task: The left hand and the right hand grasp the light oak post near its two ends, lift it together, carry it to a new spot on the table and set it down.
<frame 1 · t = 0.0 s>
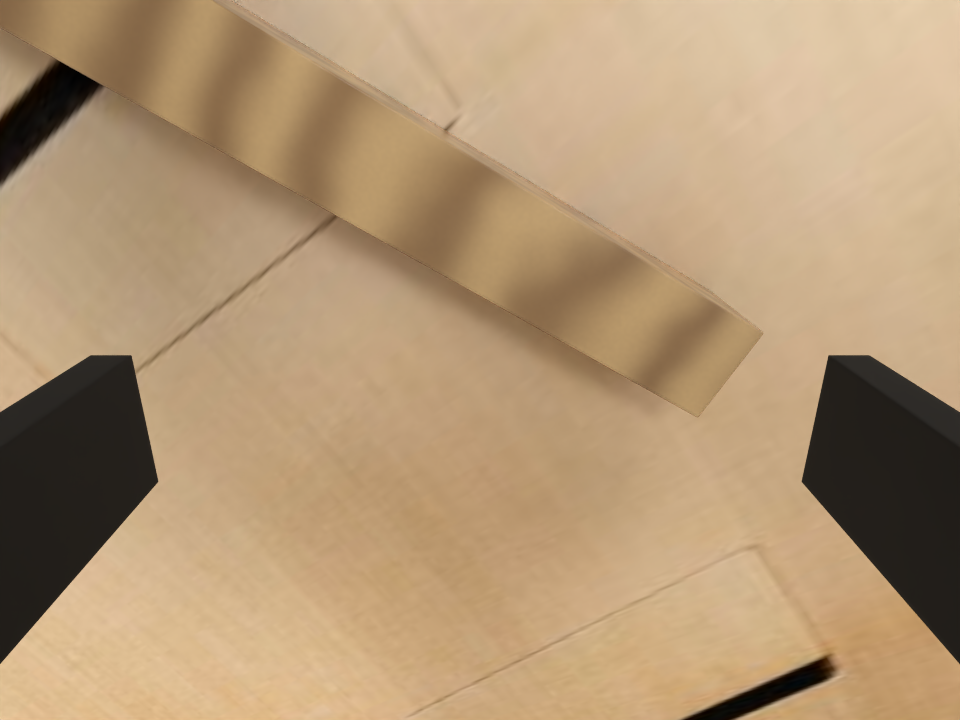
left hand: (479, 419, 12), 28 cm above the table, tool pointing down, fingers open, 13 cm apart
post: (183, 33, 35), on the table
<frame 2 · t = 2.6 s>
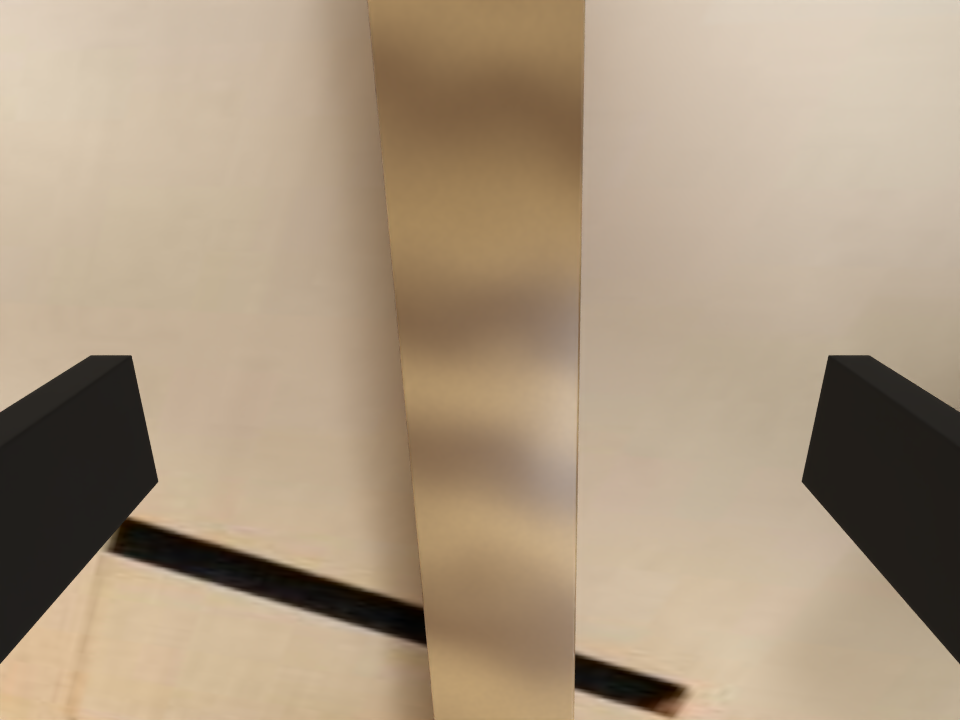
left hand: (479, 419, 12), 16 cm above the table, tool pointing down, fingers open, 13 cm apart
post: (503, 682, 36), on the table
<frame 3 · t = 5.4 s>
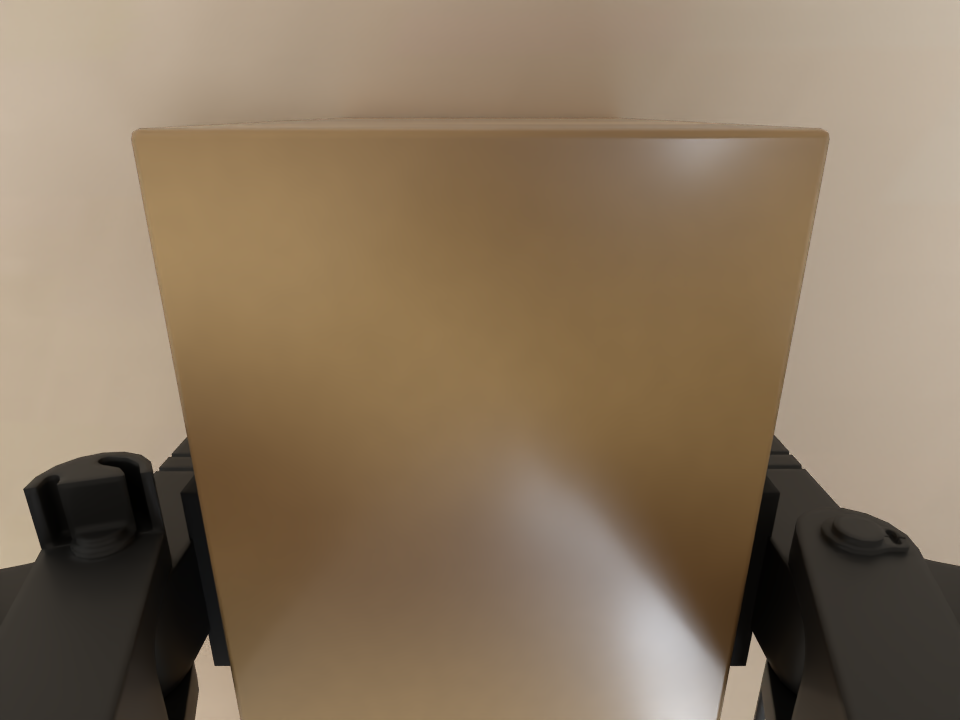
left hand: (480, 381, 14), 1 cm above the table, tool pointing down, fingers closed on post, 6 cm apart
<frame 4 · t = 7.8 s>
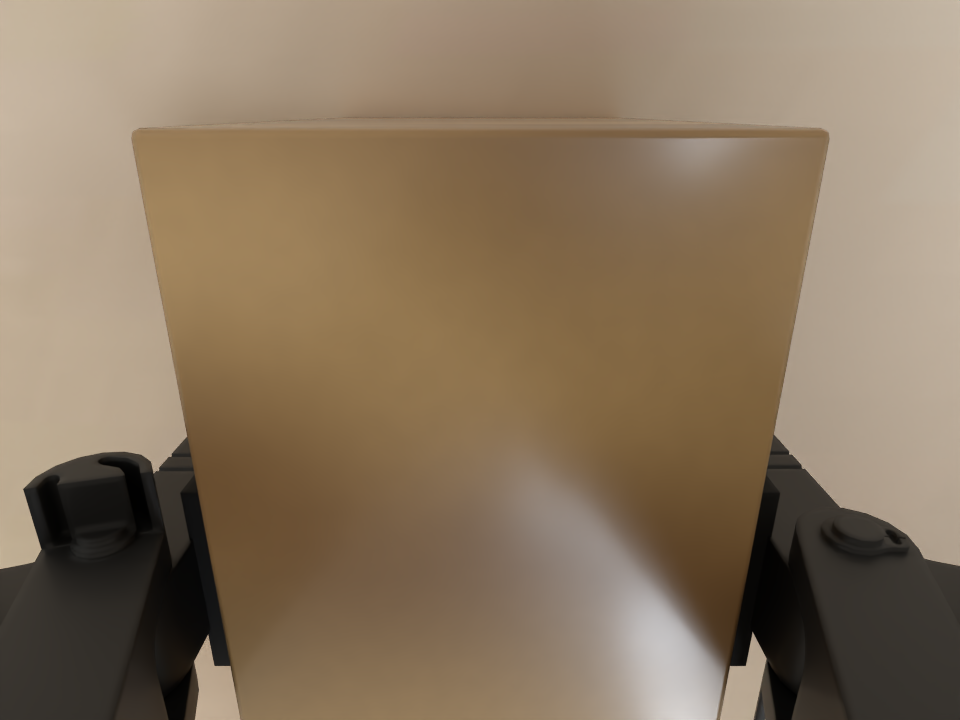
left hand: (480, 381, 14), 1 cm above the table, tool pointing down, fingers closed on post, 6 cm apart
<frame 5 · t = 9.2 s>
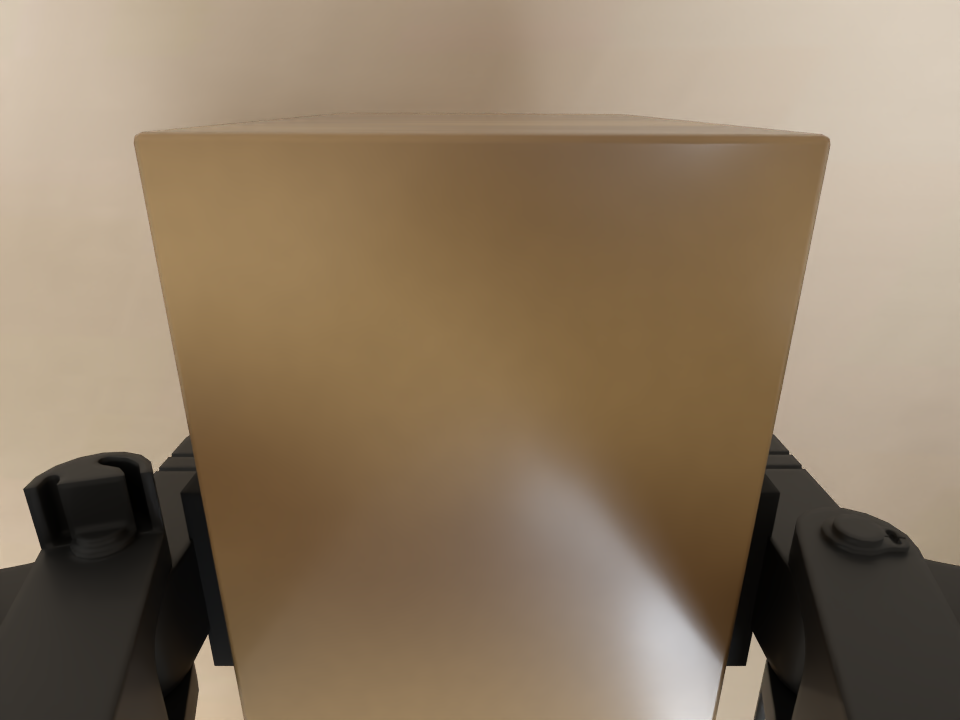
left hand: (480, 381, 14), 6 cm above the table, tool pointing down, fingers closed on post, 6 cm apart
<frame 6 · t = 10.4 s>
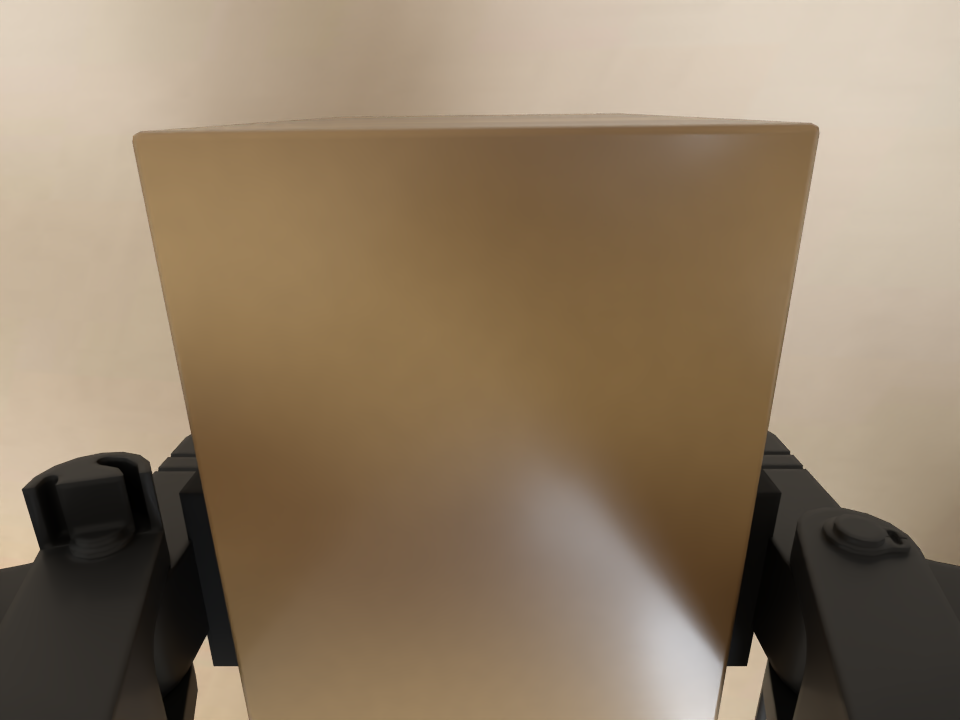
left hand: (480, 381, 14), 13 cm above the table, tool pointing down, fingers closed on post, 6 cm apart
when the left hand's fingers open (2 cm above the table, at t = 13.1 s): post drops 1 cm, on the table.
when the right hand's fingers open (4 cm above the table, at t = 13.3 s): post stays where it is, on the table.
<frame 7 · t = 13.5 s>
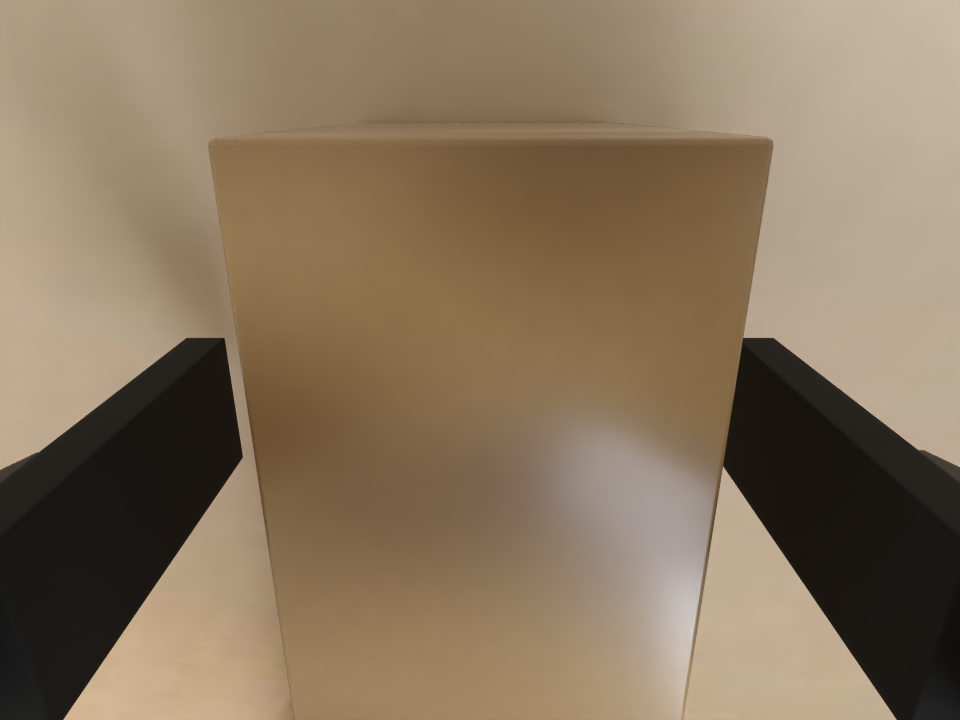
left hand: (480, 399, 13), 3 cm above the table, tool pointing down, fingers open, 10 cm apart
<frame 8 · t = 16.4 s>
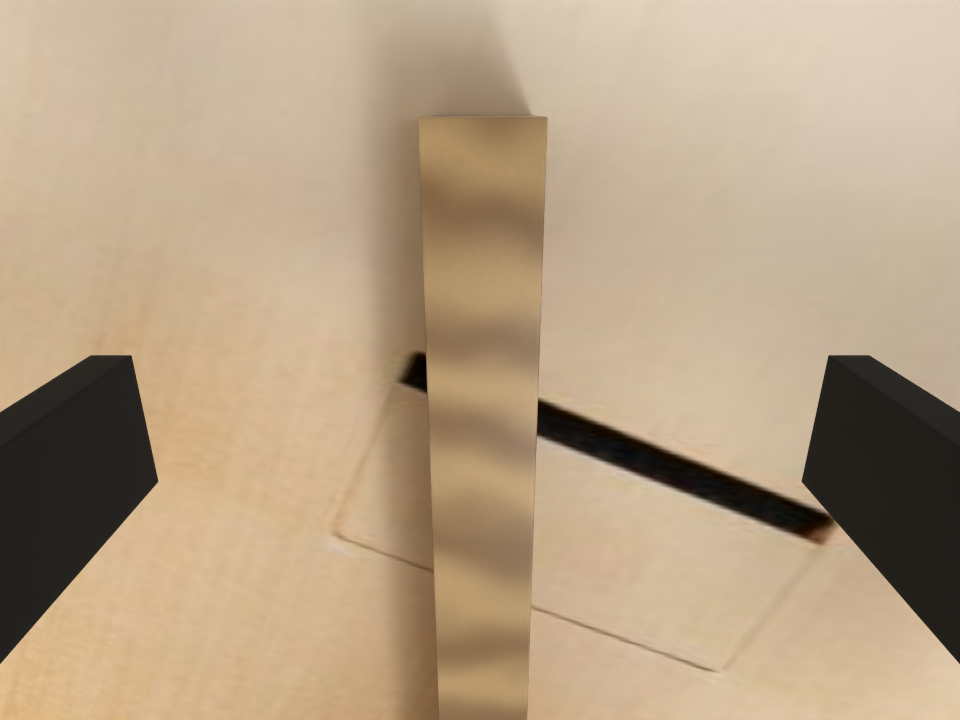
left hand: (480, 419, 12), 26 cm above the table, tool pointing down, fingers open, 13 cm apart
post: (482, 604, 47), on the table
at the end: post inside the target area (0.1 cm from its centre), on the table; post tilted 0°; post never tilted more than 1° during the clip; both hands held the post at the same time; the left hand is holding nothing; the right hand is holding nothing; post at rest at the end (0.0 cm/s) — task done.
